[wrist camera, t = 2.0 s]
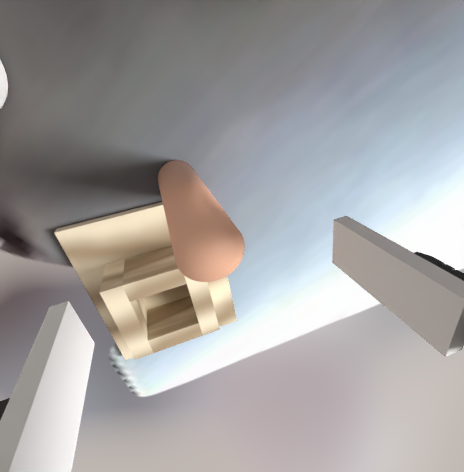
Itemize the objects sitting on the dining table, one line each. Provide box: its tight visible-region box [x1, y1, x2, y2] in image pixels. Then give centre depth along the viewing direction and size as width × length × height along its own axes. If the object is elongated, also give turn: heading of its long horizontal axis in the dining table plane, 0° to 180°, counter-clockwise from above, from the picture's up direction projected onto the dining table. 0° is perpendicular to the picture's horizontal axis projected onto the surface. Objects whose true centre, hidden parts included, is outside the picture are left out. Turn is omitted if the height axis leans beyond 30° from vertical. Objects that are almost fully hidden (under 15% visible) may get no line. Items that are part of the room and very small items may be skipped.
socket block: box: [54, 202, 237, 360], centre depth 31 cm, size 20×16×6 cm
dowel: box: [158, 160, 245, 282], centre depth 22 cm, size 4×4×16 cm
